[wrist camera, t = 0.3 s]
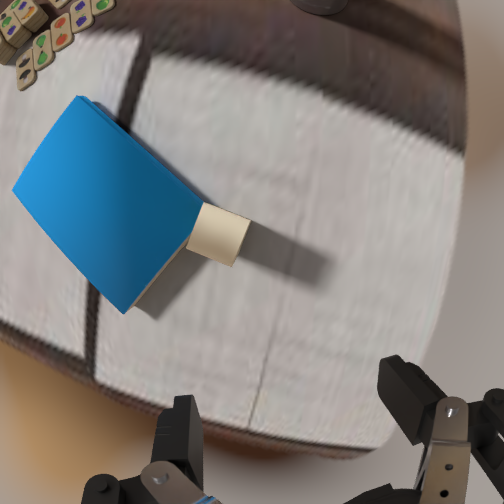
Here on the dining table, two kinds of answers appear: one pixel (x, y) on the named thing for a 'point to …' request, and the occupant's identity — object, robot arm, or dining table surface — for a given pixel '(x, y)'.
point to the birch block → (218, 234)
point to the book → (107, 203)
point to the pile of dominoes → (30, 20)
